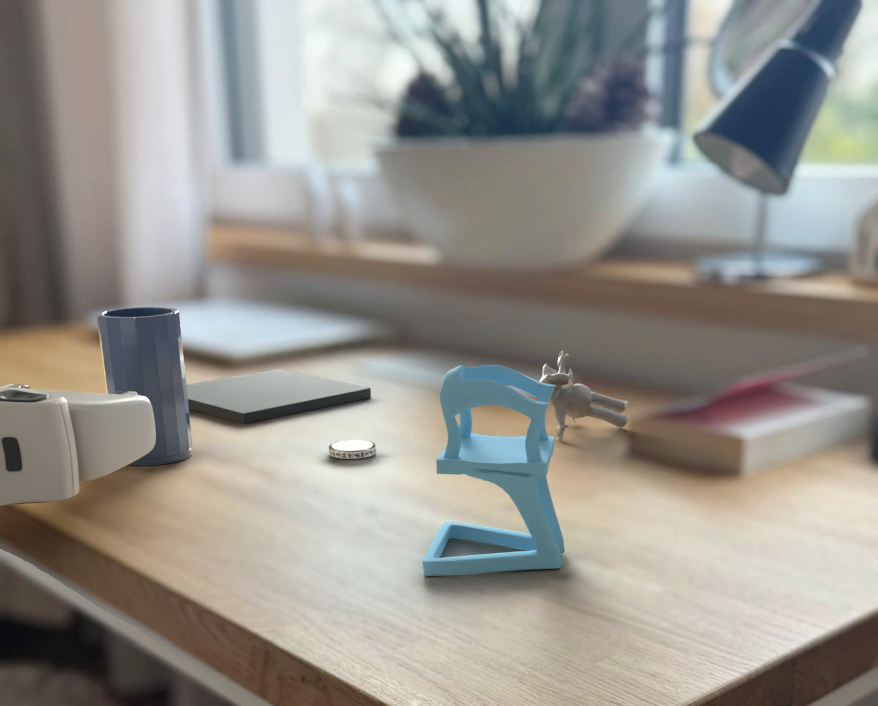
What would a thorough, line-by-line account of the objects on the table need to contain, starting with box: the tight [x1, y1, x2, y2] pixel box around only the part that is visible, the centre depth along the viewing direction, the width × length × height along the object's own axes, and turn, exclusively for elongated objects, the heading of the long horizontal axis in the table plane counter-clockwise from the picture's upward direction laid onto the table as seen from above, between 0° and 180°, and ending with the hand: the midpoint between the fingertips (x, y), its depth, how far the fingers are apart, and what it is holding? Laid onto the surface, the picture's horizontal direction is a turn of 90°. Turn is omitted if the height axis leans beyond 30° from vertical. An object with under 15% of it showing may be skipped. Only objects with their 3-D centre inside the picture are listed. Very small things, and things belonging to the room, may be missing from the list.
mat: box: [186, 368, 372, 424], centre depth 113 cm, size 16×16×1 cm
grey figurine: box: [538, 350, 630, 441], centre depth 98 cm, size 10×6×9 cm
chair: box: [422, 364, 566, 577], centre depth 66 cm, size 8×8×12 cm
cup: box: [96, 306, 193, 467], centre depth 90 cm, size 6×6×12 cm
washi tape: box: [328, 439, 377, 460], centre depth 92 cm, size 4×4×1 cm
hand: (76, 398), depth 81 cm, fingers open, 8 cm apart
